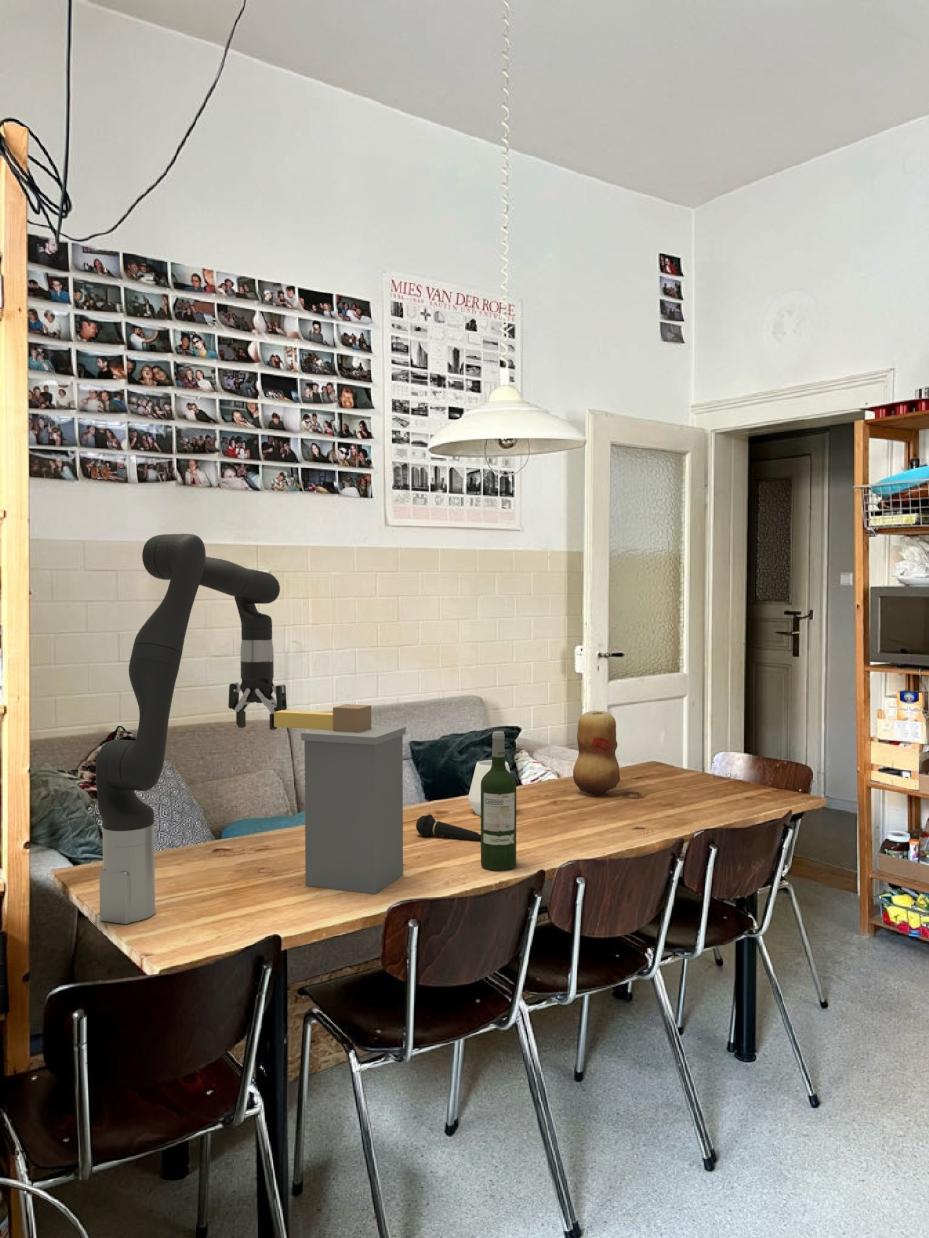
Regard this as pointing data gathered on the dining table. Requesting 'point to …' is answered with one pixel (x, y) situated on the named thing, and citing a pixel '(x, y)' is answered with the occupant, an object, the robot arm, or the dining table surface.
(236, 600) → the robot arm
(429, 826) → the microphone
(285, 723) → the peg
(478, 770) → the cup
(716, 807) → the dining table surface
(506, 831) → the wine bottle
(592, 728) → the butternut squash
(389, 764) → the stand
